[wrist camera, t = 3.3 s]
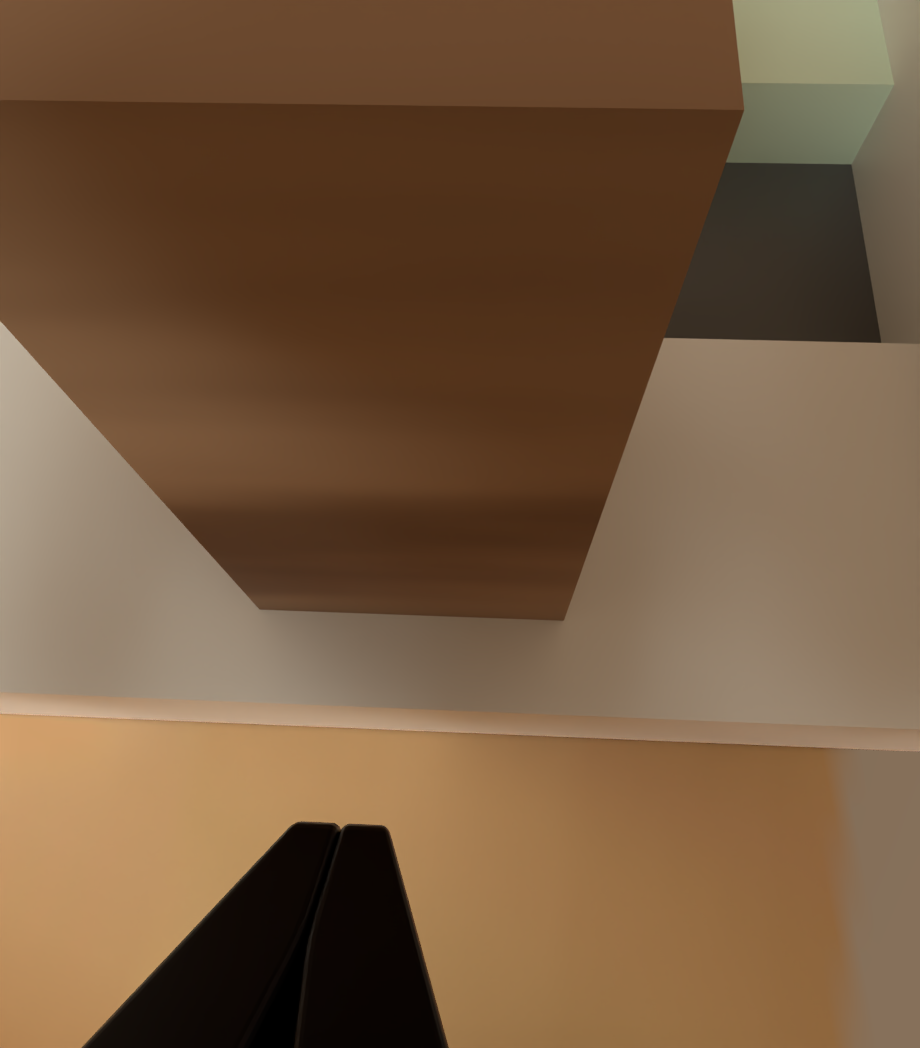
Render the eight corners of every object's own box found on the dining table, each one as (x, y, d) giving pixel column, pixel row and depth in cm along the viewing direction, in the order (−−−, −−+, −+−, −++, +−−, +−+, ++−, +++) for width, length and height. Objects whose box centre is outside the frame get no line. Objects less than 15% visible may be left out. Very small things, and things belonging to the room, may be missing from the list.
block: (563, 620, 14) (744, 110, 4) (259, 609, 14) (-202, 97, 4) (563, 357, 15) (688, -399, 6) (295, 351, 16) (20, -394, 6)
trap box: (998, 754, 15) (1167, 721, 11) (-136, 708, 16) (-324, 662, 12) (848, -39, 23) (920, -213, 19) (93, -43, 24) (20, -212, 20)
